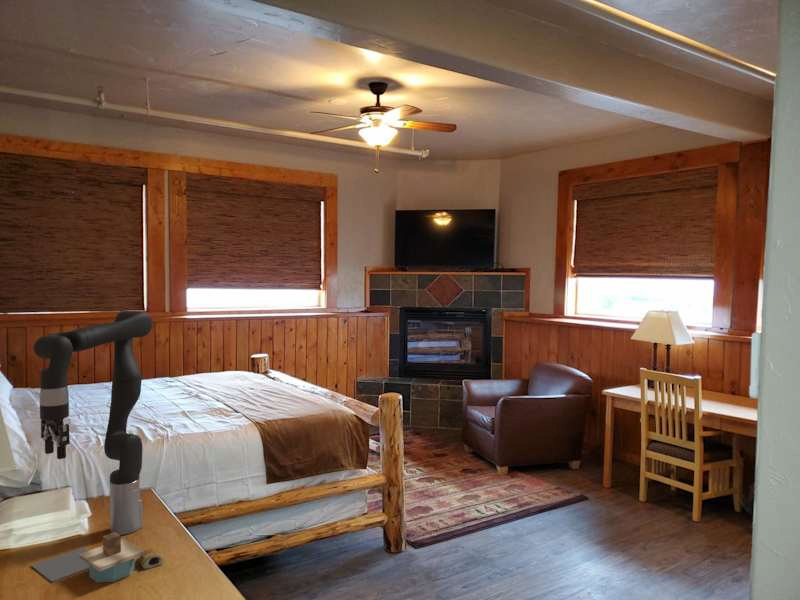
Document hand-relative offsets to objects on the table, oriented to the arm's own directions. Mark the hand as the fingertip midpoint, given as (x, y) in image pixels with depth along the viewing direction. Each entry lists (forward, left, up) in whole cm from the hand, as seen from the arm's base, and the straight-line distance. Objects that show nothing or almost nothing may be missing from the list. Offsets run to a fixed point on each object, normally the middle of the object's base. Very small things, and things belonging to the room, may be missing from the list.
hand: (55, 455), depth 176 cm
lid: (-8, +18, -28) cm, 34 cm away
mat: (-2, +3, -33) cm, 33 cm away
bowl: (-8, +18, -33) cm, 39 cm away
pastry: (-18, +21, -34) cm, 43 cm away
